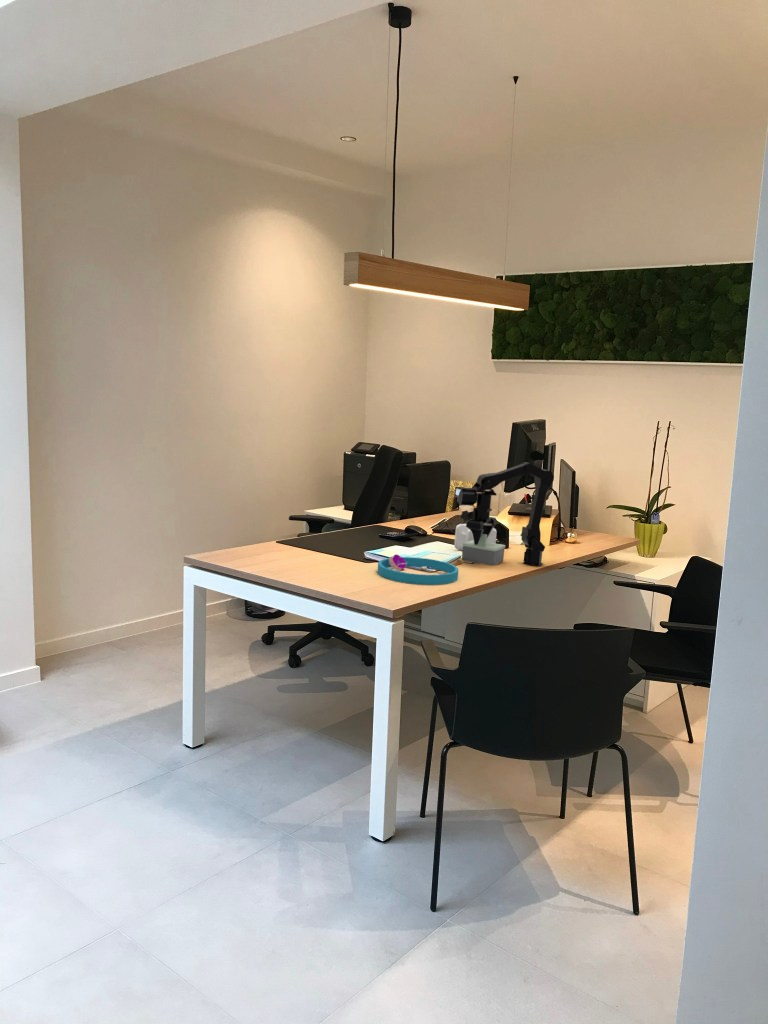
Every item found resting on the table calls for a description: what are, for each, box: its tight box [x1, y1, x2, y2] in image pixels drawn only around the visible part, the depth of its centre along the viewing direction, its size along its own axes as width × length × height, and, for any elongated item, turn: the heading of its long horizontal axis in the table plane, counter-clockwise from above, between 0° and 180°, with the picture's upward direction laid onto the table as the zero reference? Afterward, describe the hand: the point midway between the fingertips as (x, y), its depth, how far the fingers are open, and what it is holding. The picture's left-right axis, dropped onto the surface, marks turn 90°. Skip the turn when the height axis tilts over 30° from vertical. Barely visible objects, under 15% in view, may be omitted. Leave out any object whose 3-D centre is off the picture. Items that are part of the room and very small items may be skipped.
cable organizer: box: [453, 523, 497, 551], centre depth 359 cm, size 15×11×12 cm
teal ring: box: [377, 554, 459, 586], centre depth 307 cm, size 30×30×6 cm
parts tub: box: [461, 546, 505, 566], centre depth 341 cm, size 14×11×6 cm
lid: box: [462, 534, 506, 551], centre depth 340 cm, size 14×11×7 cm
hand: (479, 543), depth 336 cm, fingers open, 8 cm apart
